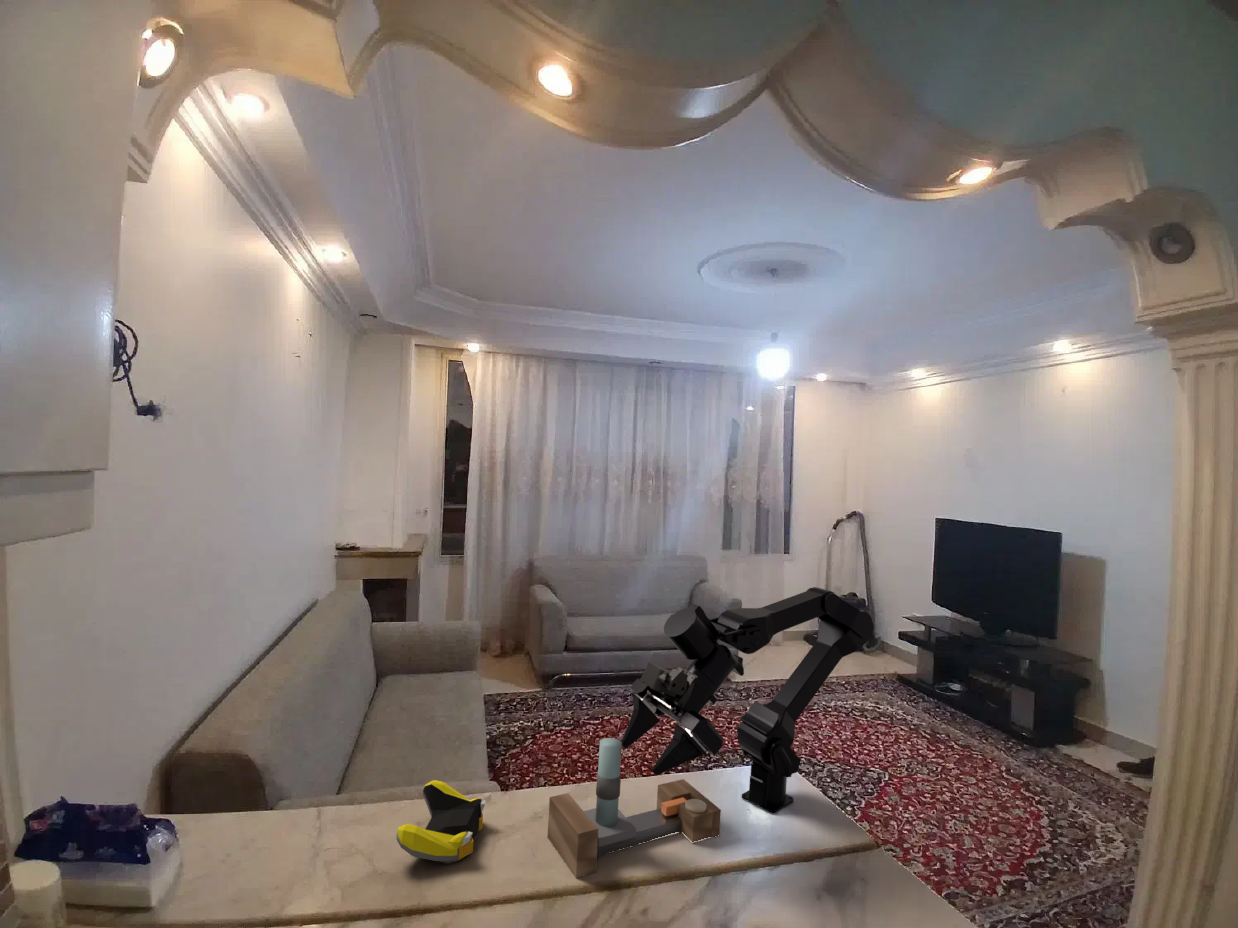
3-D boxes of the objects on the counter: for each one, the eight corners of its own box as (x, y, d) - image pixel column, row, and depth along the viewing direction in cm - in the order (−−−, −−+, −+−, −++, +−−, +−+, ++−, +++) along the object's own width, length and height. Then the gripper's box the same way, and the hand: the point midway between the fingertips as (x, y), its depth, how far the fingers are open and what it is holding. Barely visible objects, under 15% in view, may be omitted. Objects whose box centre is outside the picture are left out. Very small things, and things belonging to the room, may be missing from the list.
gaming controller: (389, 872, 86) (464, 877, 85) (391, 831, 86) (466, 836, 85) (425, 810, 101) (489, 814, 100) (427, 775, 101) (491, 779, 100)
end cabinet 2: (682, 802, 107) (683, 775, 107) (719, 835, 98) (721, 806, 98) (656, 809, 104) (658, 781, 104) (692, 843, 95) (694, 813, 95)
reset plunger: (682, 806, 101) (683, 797, 101) (687, 810, 100) (688, 801, 100) (661, 811, 99) (661, 802, 99) (666, 816, 98) (666, 807, 98)
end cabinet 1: (566, 832, 97) (568, 792, 96) (595, 872, 88) (598, 828, 88) (547, 837, 95) (549, 796, 95) (575, 877, 86) (578, 833, 86)
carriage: (612, 811, 99) (617, 729, 98) (635, 836, 92) (640, 749, 92) (577, 820, 96) (581, 736, 95) (598, 846, 90) (603, 756, 89)
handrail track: (687, 813, 104) (688, 801, 103) (702, 826, 100) (703, 813, 100) (561, 846, 93) (562, 833, 93) (573, 862, 89) (574, 848, 89)
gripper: (643, 628, 107) (579, 703, 102) (711, 663, 90) (639, 754, 85) (679, 671, 111) (619, 745, 105) (751, 711, 94) (684, 801, 89)
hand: (637, 759), depth 96 cm, fingers open, 9 cm apart
